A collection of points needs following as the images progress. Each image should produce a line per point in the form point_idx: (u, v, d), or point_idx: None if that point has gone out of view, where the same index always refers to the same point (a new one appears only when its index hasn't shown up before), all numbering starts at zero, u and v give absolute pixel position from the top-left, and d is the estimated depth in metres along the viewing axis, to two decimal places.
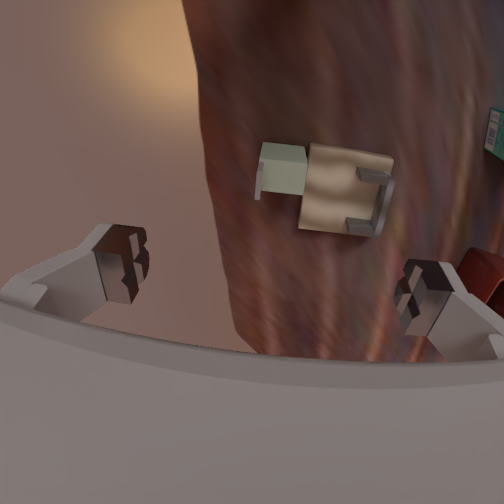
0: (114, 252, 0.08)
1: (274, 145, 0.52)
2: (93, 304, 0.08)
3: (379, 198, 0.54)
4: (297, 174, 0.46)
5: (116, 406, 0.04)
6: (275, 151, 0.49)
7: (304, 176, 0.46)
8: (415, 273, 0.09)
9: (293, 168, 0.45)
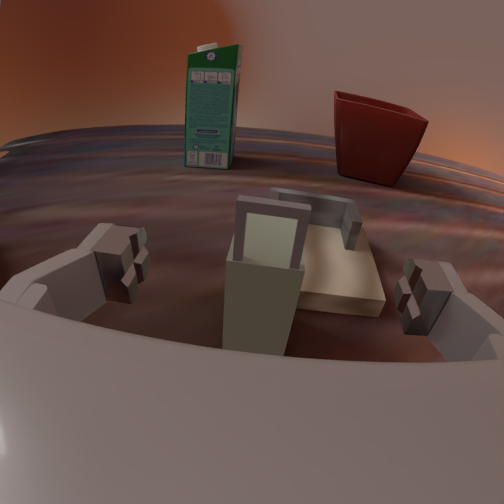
0: (114, 252, 0.08)
1: None
2: (93, 304, 0.08)
3: None
4: (263, 219, 0.25)
5: (116, 406, 0.04)
6: None
7: None
8: (415, 273, 0.09)
9: (249, 222, 0.25)
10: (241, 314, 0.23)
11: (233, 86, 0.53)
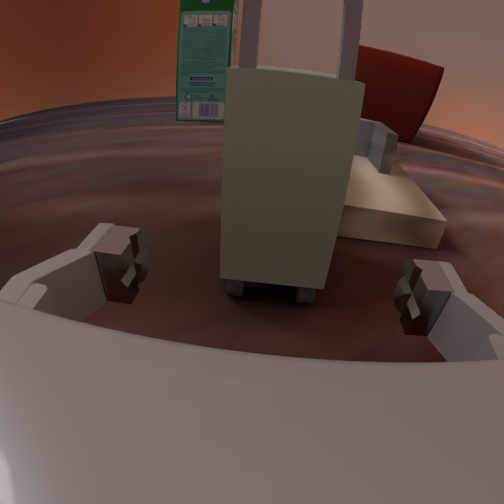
0: (114, 252, 0.08)
1: None
2: (93, 304, 0.08)
3: None
4: None
5: (116, 406, 0.04)
6: None
7: None
8: (415, 273, 0.09)
9: (261, 66, 0.14)
10: (253, 185, 0.13)
11: (230, 28, 0.43)
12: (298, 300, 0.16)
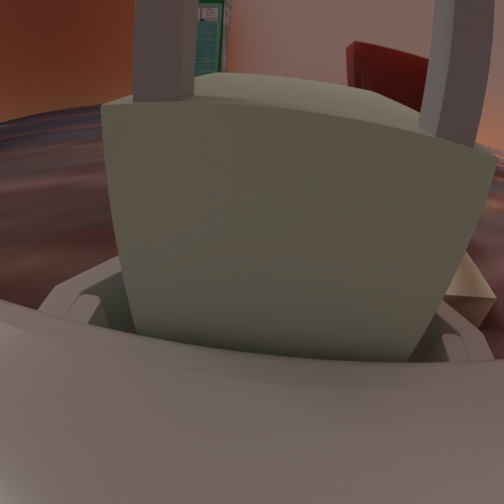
0: None
1: None
2: None
3: None
4: (273, 78, 0.08)
5: (116, 406, 0.04)
6: None
7: (278, 77, 0.09)
8: None
9: (236, 76, 0.07)
10: None
11: (221, 24, 0.36)
12: None
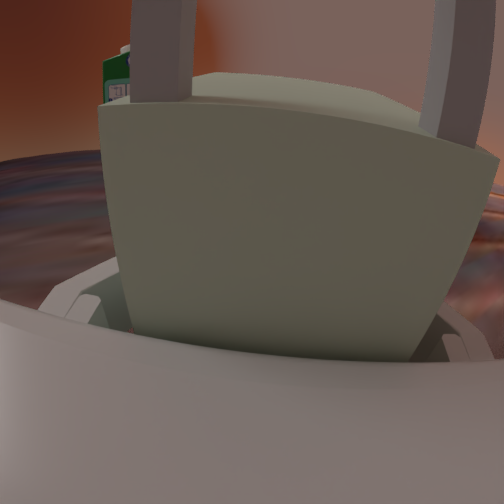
0: None
1: None
2: None
3: None
4: (273, 78, 0.08)
5: (116, 406, 0.04)
6: None
7: (278, 77, 0.09)
8: None
9: (235, 76, 0.07)
10: None
11: None
12: None
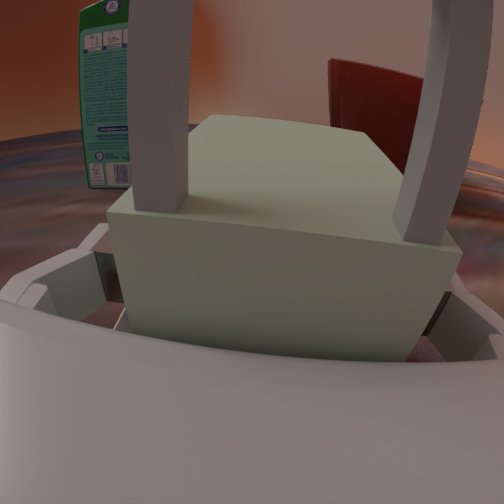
0: None
1: None
2: (93, 304, 0.08)
3: None
4: (266, 126, 0.09)
5: (116, 406, 0.04)
6: None
7: (272, 120, 0.10)
8: None
9: (230, 128, 0.08)
10: None
11: None
12: None
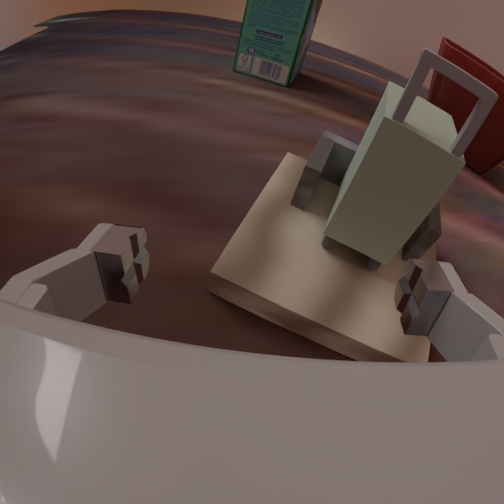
0: (114, 252, 0.08)
1: (336, 202, 0.22)
2: (93, 304, 0.08)
3: None
4: None
5: (116, 406, 0.04)
6: (357, 162, 0.19)
7: None
8: (415, 273, 0.09)
9: (401, 94, 0.17)
10: (370, 191, 0.18)
11: None
12: (367, 265, 0.22)
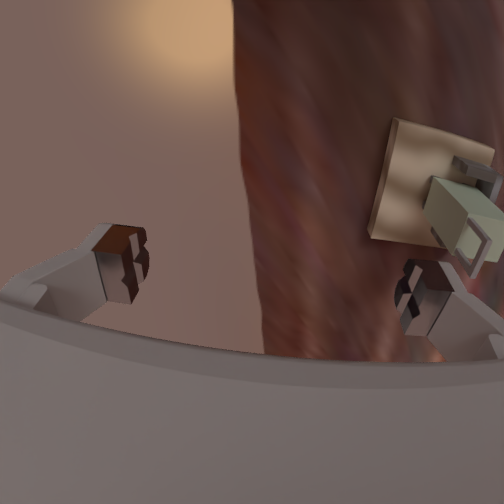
0: (114, 252, 0.08)
1: (451, 184, 0.32)
2: (93, 304, 0.08)
3: None
4: (500, 237, 0.27)
5: (116, 406, 0.04)
6: (465, 197, 0.30)
7: None
8: (415, 273, 0.09)
9: (500, 228, 0.26)
10: (446, 203, 0.30)
11: None
12: (423, 202, 0.37)
